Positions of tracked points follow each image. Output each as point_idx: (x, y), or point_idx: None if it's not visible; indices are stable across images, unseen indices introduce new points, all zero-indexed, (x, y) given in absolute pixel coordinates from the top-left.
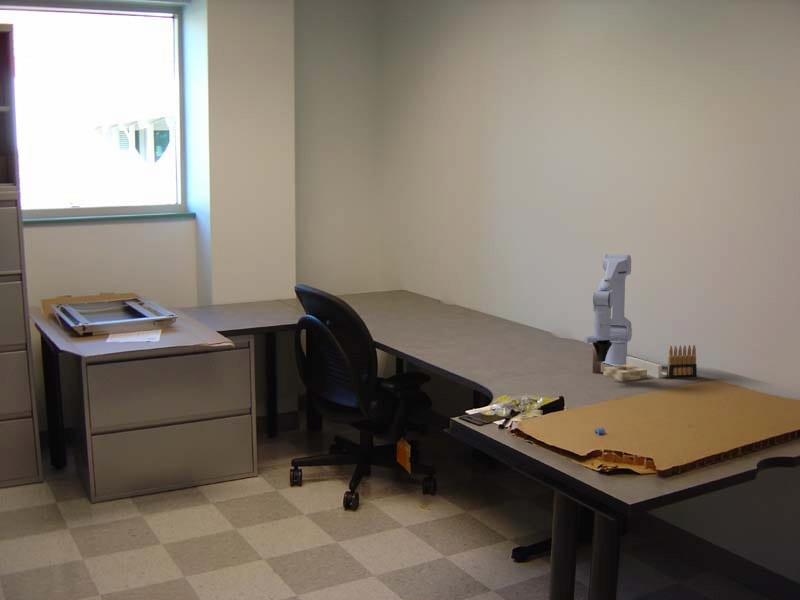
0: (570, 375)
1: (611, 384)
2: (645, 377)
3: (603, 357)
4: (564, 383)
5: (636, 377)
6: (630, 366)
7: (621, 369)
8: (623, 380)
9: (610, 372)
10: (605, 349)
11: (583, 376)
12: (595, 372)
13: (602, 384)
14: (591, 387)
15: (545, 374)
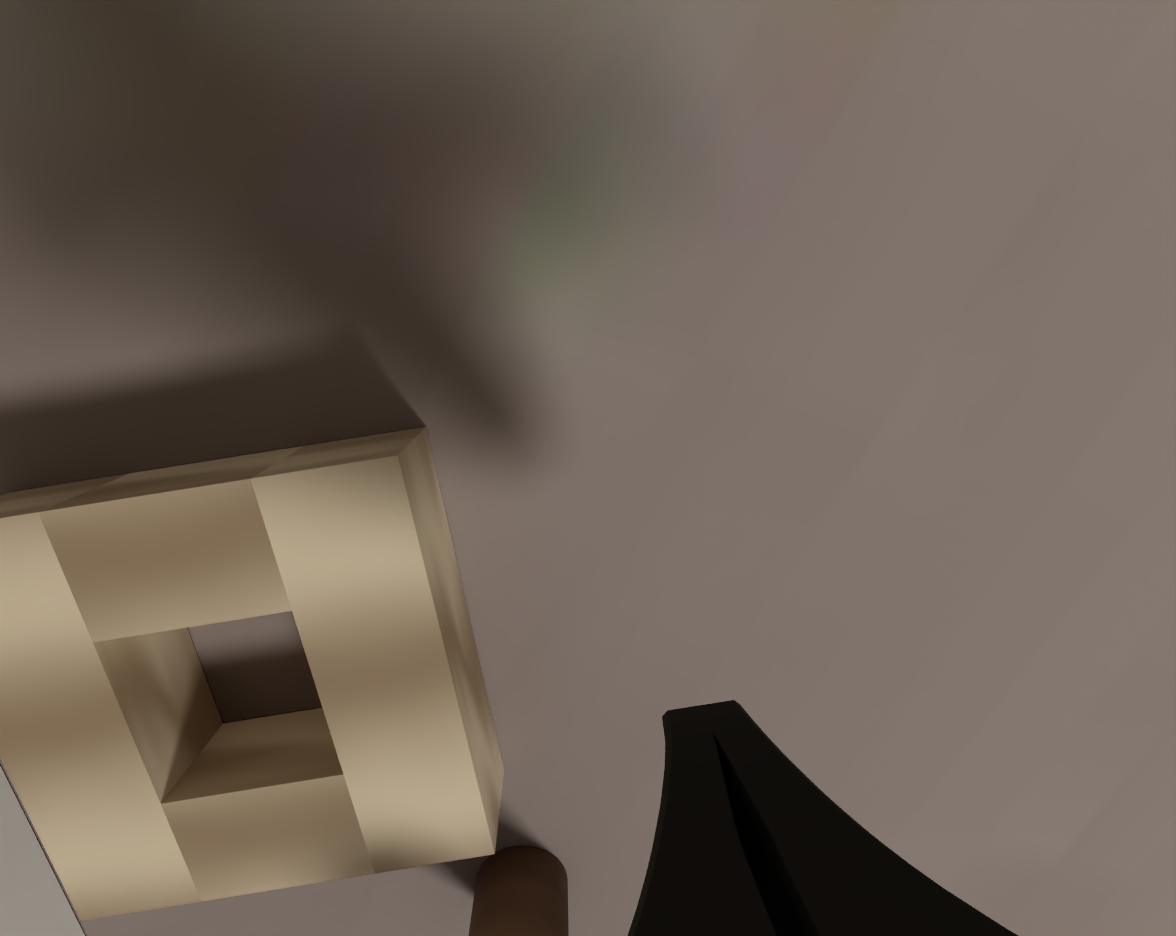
0: None
1: (664, 307)
2: (26, 490)
3: (739, 752)
4: (1166, 539)
5: (175, 471)
6: (92, 793)
7: (311, 668)
8: (410, 431)
9: (470, 694)
10: (771, 934)
11: None
12: (553, 863)
13: (778, 347)
14: (1011, 239)
15: (1071, 926)
